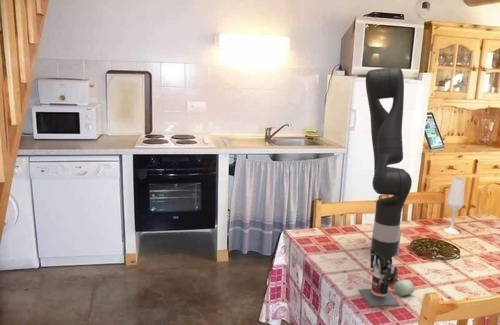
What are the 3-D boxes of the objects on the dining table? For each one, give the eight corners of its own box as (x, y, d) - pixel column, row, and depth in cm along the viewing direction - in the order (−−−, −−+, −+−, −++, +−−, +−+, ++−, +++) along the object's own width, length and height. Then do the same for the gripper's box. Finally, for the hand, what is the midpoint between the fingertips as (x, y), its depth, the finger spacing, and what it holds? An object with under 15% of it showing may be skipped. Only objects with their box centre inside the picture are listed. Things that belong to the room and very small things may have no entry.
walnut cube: (387, 277, 142) (388, 265, 141) (396, 284, 138) (398, 271, 137) (376, 279, 141) (378, 267, 140) (385, 286, 137) (387, 273, 136)
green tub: (392, 287, 134) (401, 285, 135) (400, 299, 130) (410, 296, 132) (397, 278, 131) (407, 276, 133) (406, 290, 128) (416, 287, 130)
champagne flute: (451, 234, 182) (459, 181, 177) (439, 229, 188) (446, 177, 183) (462, 232, 185) (471, 180, 180) (450, 227, 191) (458, 176, 186)
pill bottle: (368, 288, 131) (371, 263, 129) (383, 288, 131) (386, 263, 129) (374, 297, 126) (377, 271, 124) (389, 296, 126) (392, 271, 125)
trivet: (386, 290, 134) (386, 288, 134) (399, 306, 125) (399, 304, 125) (359, 291, 133) (359, 289, 133) (370, 307, 124) (370, 305, 124)
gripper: (409, 246, 118) (402, 301, 122) (387, 227, 132) (381, 277, 136) (383, 246, 117) (377, 302, 121) (364, 227, 131) (359, 277, 135)
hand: (379, 288), depth 128 cm, fingers closed on pill bottle, 4 cm apart
